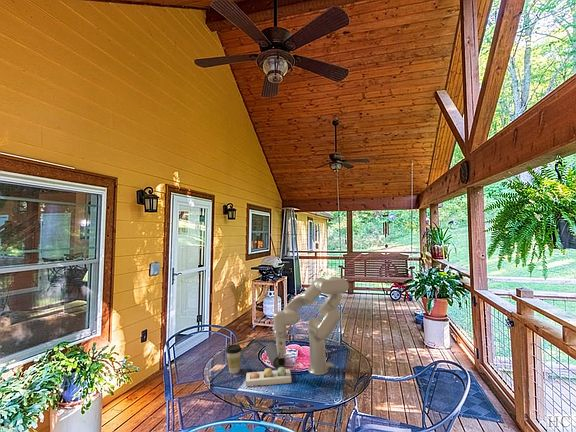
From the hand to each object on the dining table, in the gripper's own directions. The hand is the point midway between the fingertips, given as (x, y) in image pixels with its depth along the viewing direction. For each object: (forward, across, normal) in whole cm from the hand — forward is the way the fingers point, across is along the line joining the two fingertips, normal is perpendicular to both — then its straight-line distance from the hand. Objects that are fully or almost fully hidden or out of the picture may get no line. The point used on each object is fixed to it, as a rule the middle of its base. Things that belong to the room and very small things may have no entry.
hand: (281, 364), depth 178 cm
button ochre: (+6, 0, +8) cm, 10 cm away
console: (+9, 0, +8) cm, 12 cm away
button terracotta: (+8, 0, +16) cm, 18 cm away
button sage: (+6, 0, 0) cm, 6 cm away
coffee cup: (+9, +15, +29) cm, 33 cm away
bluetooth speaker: (+9, +21, +3) cm, 23 cm away
